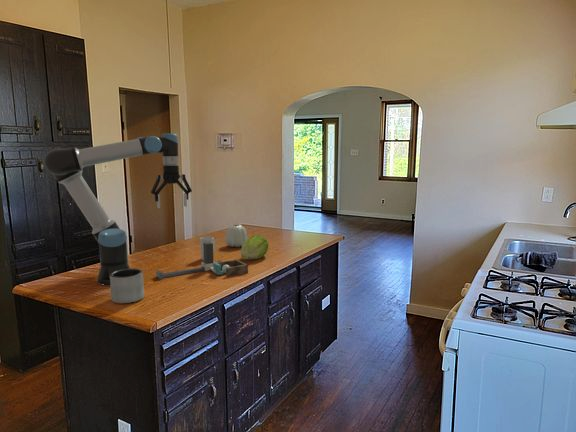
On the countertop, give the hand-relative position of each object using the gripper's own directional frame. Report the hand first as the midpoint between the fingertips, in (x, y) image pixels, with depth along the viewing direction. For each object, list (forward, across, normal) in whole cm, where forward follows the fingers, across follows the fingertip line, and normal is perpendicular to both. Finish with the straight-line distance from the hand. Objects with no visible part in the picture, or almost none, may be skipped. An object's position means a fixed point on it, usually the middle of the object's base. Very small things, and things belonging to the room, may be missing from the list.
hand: (172, 207), depth 211 cm
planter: (+31, -31, -37) cm, 58 cm away
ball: (+29, +18, -25) cm, 42 cm away
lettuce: (+31, +42, -8) cm, 52 cm away
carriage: (+30, +13, -20) cm, 39 cm away
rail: (+31, +4, -15) cm, 35 cm away
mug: (+31, +21, +5) cm, 38 cm away
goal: (+31, +21, -25) cm, 45 cm away
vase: (+31, +47, +24) cm, 61 cm away
